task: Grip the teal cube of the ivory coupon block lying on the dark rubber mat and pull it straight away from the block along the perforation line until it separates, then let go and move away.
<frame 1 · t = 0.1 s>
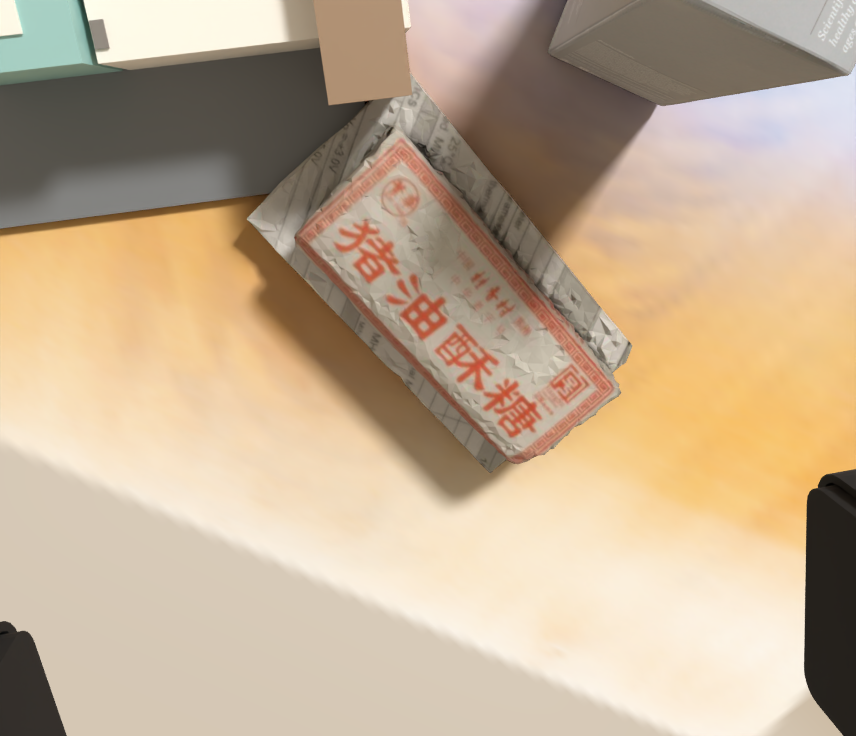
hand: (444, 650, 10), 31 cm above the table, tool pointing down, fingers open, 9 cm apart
packaged product: (447, 282, 40), on the table, touching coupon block, mat
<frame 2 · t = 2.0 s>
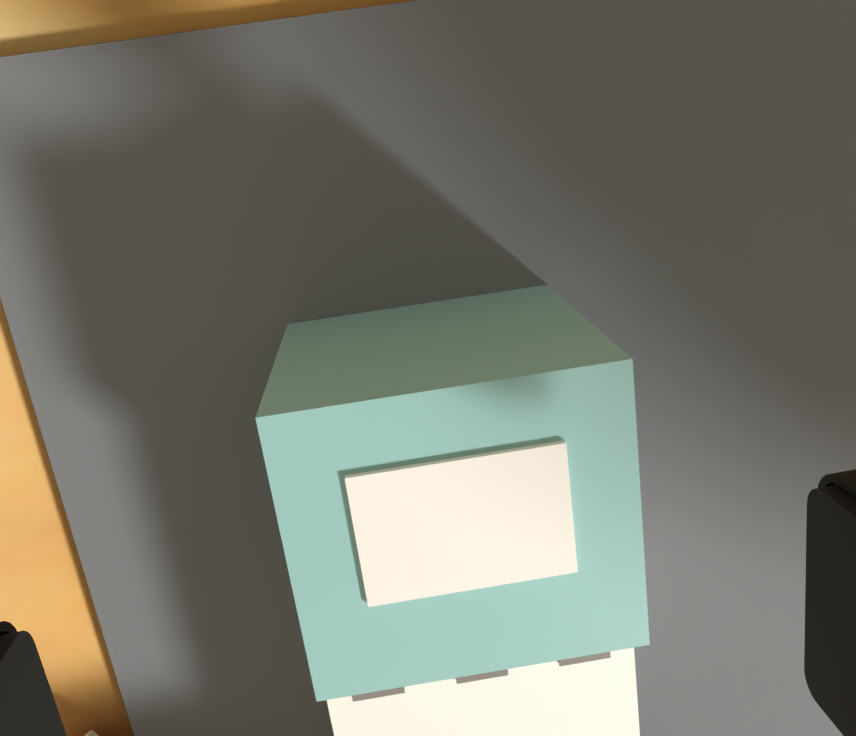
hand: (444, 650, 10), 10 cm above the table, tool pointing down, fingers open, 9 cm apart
mat: (482, 475, 20), on the table
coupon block: (477, 720, 22), resting on mat
teal cube: (447, 466, 16), point 3 cm above the table, slide at 0.0 cm
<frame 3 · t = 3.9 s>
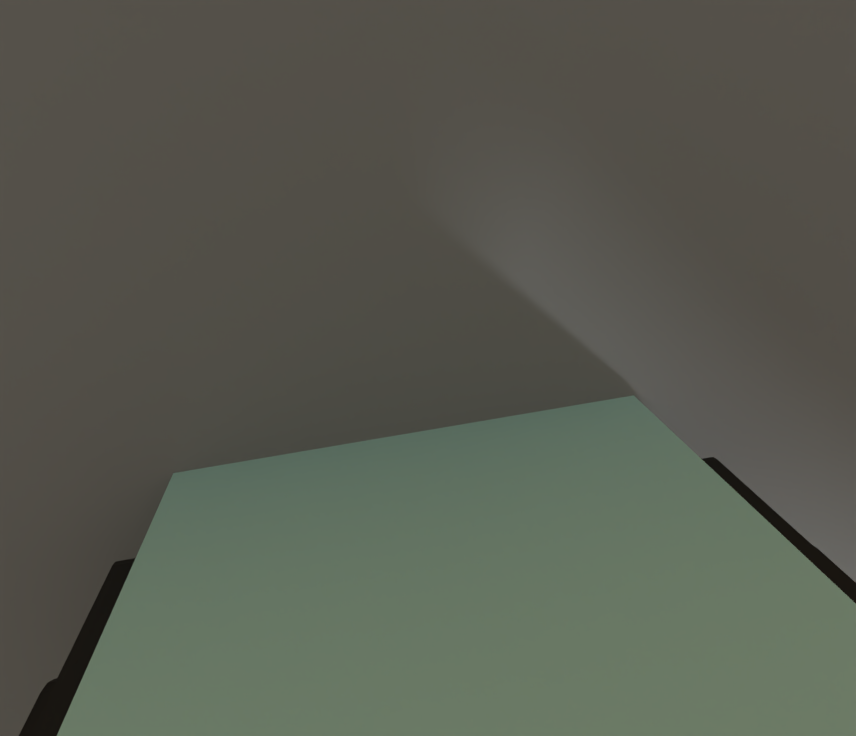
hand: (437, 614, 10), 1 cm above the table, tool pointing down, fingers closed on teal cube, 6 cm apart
mat: (513, 694, 12), on the table
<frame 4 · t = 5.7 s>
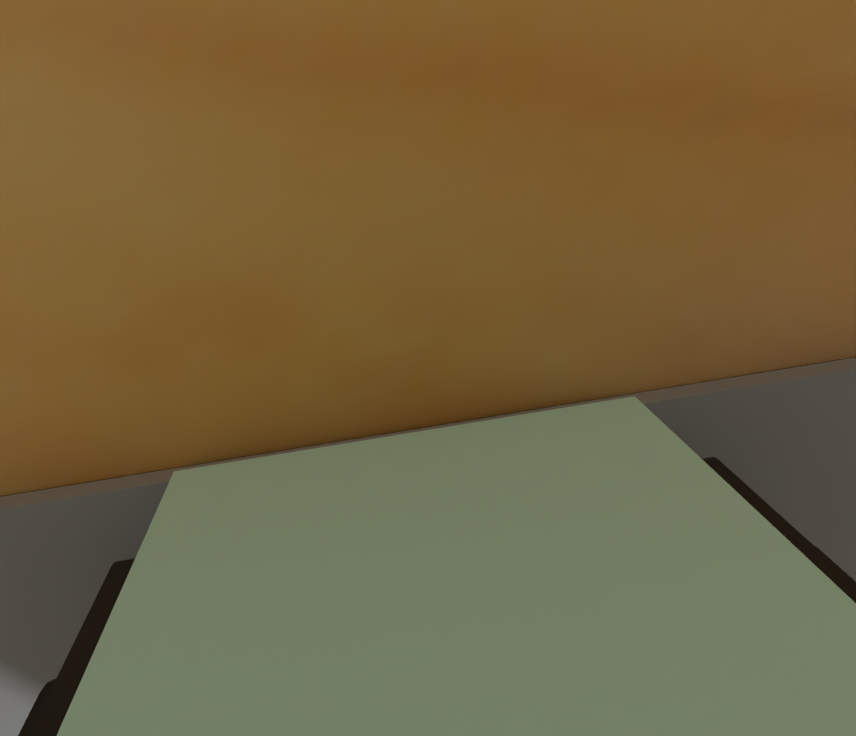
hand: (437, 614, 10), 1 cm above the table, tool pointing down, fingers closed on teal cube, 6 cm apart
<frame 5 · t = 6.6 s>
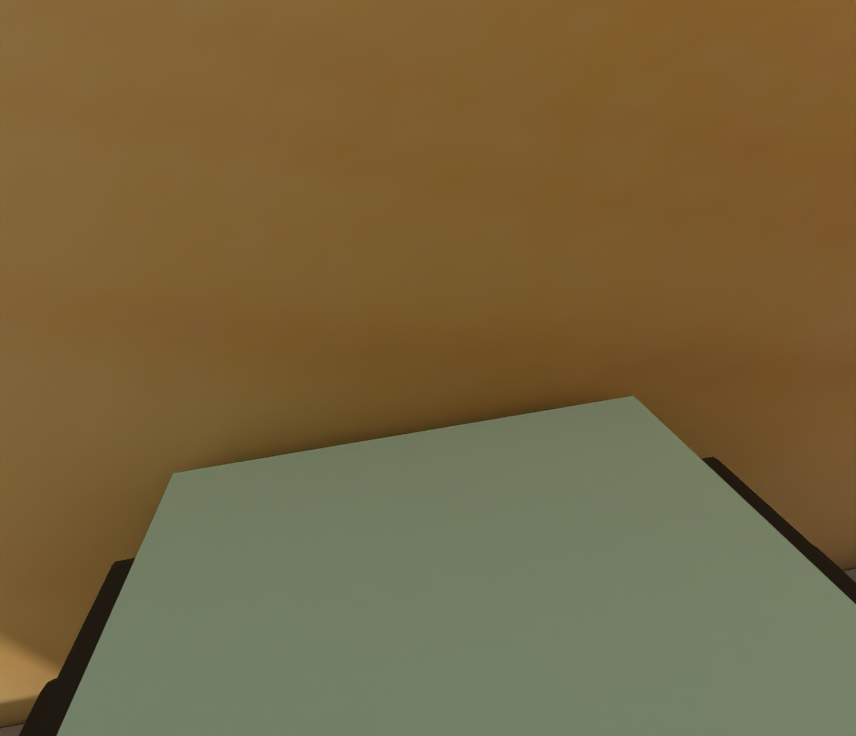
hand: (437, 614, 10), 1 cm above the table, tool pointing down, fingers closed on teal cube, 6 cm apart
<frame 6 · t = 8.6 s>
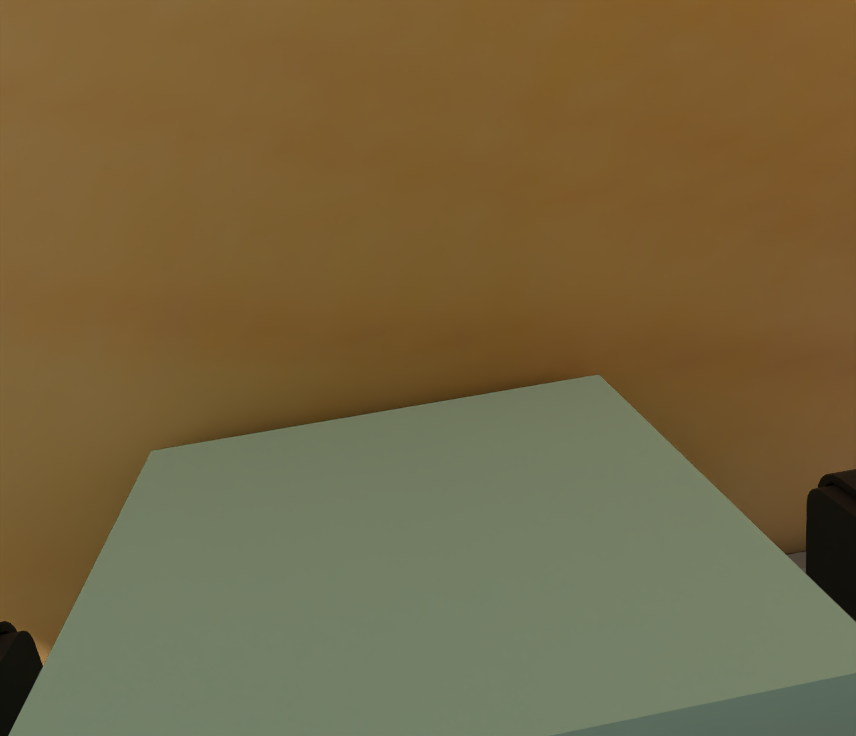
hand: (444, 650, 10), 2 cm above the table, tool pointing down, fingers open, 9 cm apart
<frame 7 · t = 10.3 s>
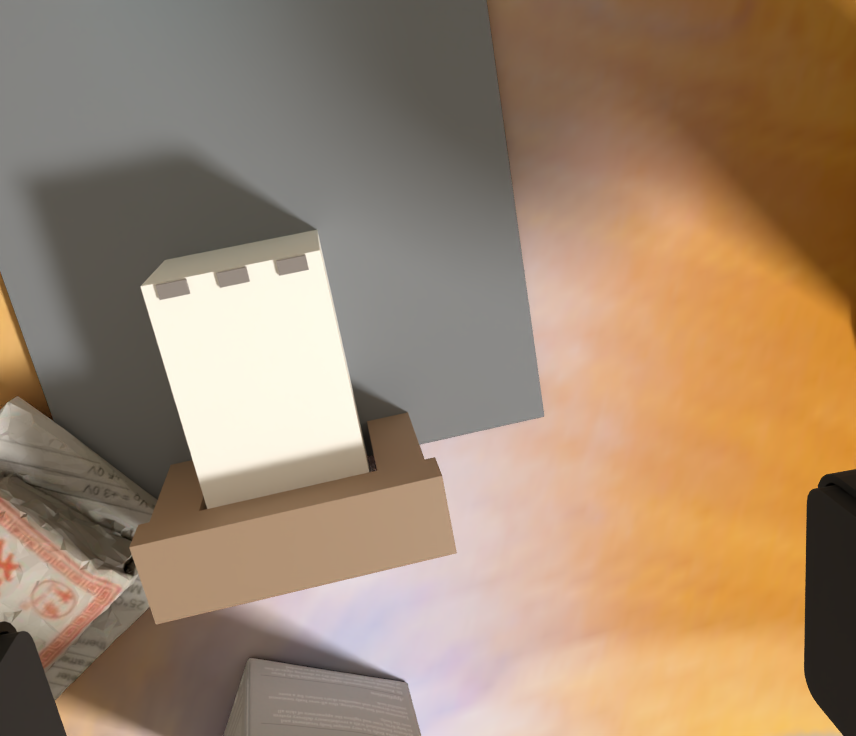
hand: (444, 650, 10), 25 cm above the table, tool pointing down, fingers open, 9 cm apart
mat: (261, 213, 32), on the table
skincare box: (318, 711, 39), on the table
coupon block: (277, 386, 33), resting on mat
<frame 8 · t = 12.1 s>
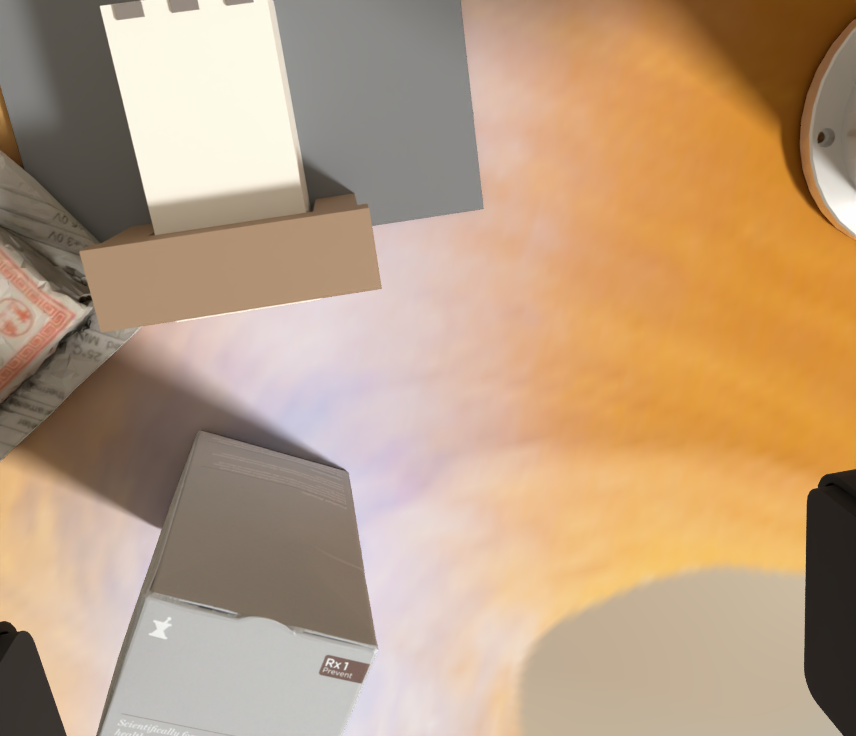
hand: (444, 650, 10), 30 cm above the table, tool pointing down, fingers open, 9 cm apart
skincare box: (264, 495, 42), on the table
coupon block: (233, 155, 36), resting on mat
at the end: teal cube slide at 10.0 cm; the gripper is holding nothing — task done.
